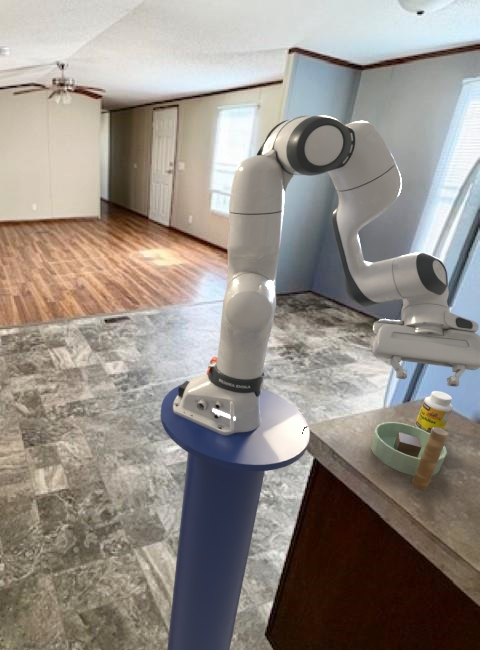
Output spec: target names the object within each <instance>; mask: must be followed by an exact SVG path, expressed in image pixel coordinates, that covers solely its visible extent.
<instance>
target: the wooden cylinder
mask: <svg viewBox="0 0 480 650" xmlns="http://www.w3.org/2000/svg"><path fill="white" fill-rule="evenodd" d="M448 437H449V432H448V431H447V430H445V428H444V429H441V428H437V427H434V428H432V430H431V433H430V435H429V438H428V441H427V443H426V446H425V449H424V451H423V454H422V457H421V459H420V462H419V465H418V467H417V470H416V473H415V475H413V478H412V481H411V486H413V487H414V488H415V489H417V490H420V491H426V490H428V487H429V486H430V482H431V479H432V477H433V476H432V474H433V472H434V469H435V467H436V464H437V462H438V459H439V457H440V454H441V452H442V449H443V447H444V446H445V444H446V442H447V439H448Z"/></svg>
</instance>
